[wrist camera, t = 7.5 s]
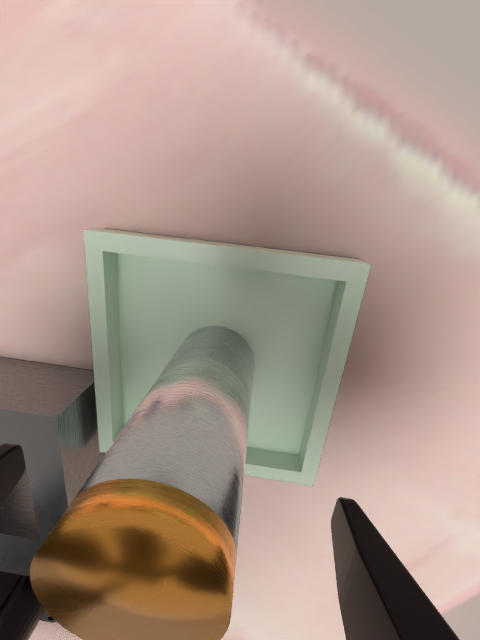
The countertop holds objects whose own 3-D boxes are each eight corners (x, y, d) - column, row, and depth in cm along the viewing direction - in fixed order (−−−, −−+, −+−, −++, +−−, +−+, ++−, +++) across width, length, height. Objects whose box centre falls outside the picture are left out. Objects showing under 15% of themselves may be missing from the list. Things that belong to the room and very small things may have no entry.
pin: (261, 333, 14) (247, 555, 5) (247, 400, 16) (216, 675, 6) (182, 319, 14) (19, 507, 5) (175, 386, 16) (37, 635, 6)
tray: (308, 459, 17) (313, 485, 16) (115, 429, 18) (99, 451, 16) (358, 258, 13) (371, 264, 12) (105, 228, 14) (83, 229, 12)
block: (113, 518, 21) (78, 585, 17) (-7, 498, 21) (-66, 558, 17) (104, 372, 17) (56, 417, 13) (-43, 350, 17) (-131, 388, 13)
